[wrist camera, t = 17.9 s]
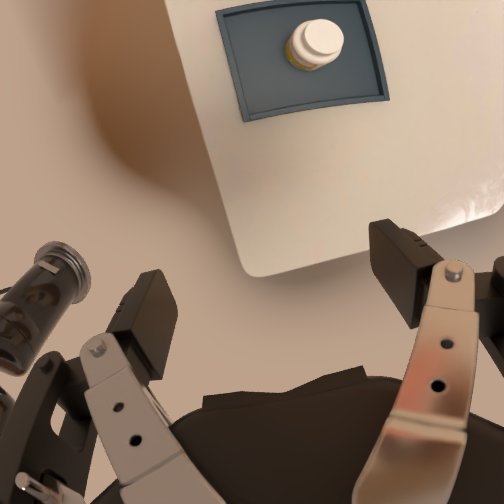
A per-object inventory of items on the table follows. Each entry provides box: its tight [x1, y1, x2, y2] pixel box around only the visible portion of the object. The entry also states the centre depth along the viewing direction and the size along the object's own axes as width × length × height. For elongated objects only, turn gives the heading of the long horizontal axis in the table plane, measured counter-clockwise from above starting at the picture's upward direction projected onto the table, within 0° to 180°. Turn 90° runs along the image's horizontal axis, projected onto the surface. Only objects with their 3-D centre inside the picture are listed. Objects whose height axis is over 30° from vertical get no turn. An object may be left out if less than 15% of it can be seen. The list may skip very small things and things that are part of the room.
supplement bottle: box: [285, 19, 344, 71], centre depth 27 cm, size 5×5×10 cm
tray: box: [215, 0, 390, 122], centre depth 31 cm, size 20×16×2 cm
